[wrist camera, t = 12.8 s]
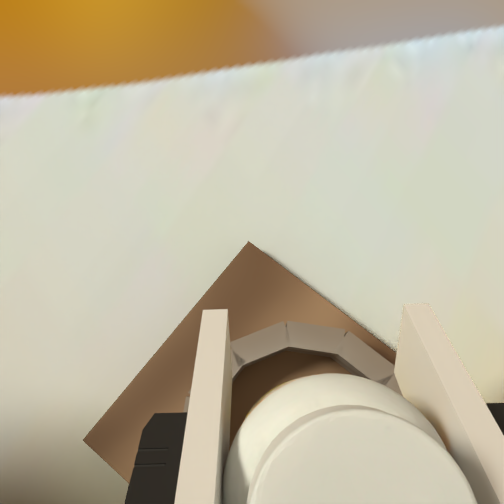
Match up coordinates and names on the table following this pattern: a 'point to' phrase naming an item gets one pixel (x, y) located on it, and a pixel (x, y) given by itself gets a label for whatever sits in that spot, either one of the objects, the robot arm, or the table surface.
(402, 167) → the table surface
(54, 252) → the table surface
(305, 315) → the socket board
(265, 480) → the supplement bottle
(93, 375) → the table surface
